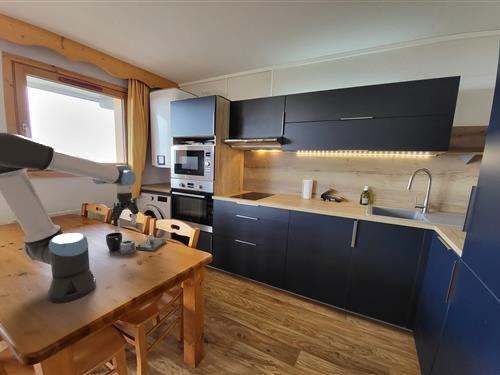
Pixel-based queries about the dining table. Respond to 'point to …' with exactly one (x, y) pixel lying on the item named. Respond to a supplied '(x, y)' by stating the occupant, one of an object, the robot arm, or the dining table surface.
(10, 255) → the dining table surface
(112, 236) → the mug
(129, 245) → the hub
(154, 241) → the shaft block
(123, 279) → the dining table surface
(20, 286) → the dining table surface
